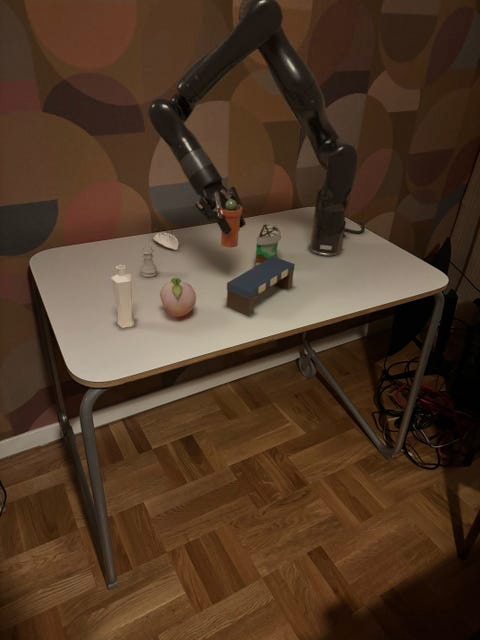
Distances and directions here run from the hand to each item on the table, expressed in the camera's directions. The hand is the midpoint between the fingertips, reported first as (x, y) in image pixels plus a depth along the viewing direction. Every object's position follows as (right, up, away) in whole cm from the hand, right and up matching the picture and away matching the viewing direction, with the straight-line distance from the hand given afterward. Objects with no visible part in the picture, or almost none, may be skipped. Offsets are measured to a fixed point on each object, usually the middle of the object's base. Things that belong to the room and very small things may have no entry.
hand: (235, 229), depth 127 cm
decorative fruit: (-14, -22, -4) cm, 26 cm away
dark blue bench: (+6, -17, +5) cm, 19 cm away
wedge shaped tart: (+10, -6, +22) cm, 25 cm away
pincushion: (-22, 0, +29) cm, 36 cm away
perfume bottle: (-26, -24, -8) cm, 36 cm away
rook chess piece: (-24, -10, +12) cm, 29 cm away
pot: (-2, -3, +3) cm, 5 cm away
